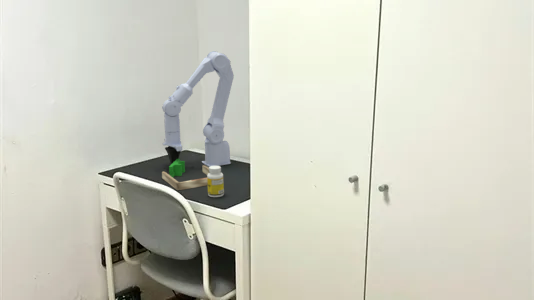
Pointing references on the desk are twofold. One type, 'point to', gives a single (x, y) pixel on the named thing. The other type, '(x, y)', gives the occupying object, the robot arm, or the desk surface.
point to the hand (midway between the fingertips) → (174, 165)
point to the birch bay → (186, 184)
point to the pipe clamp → (177, 168)
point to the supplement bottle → (215, 182)
